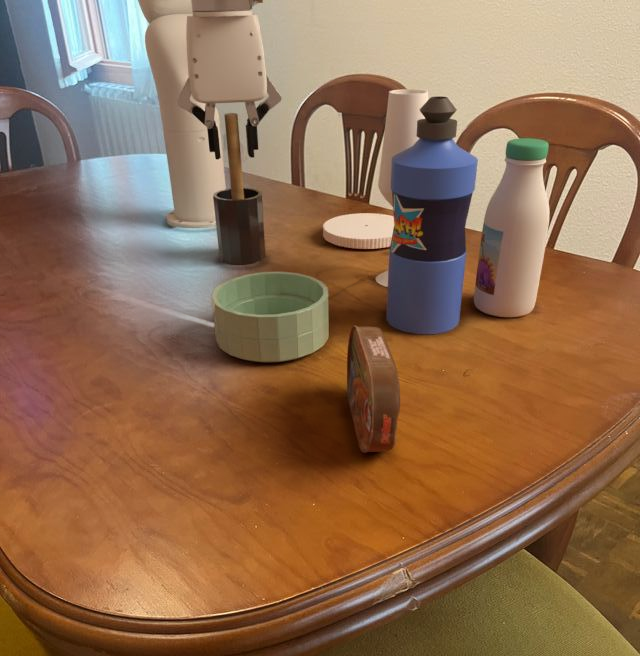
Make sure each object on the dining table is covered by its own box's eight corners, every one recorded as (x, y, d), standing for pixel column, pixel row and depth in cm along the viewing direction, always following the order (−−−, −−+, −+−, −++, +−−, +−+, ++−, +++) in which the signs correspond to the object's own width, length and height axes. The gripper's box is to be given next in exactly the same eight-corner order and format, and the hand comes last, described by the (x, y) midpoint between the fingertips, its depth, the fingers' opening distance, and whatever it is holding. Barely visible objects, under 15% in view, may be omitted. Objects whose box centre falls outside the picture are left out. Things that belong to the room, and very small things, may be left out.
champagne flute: (390, 267, 97) (398, 86, 84) (431, 276, 94) (445, 90, 81) (366, 282, 93) (370, 93, 80) (408, 292, 90) (419, 96, 76)
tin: (344, 385, 69) (344, 310, 64) (374, 383, 69) (376, 309, 64) (364, 472, 56) (366, 388, 52) (400, 470, 57) (406, 386, 52)
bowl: (265, 308, 86) (262, 264, 82) (349, 333, 79) (350, 285, 76) (193, 347, 77) (187, 299, 73) (282, 378, 70) (280, 326, 67)
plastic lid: (305, 240, 109) (305, 225, 107) (366, 222, 116) (366, 208, 115) (364, 261, 100) (365, 245, 98) (426, 241, 107) (427, 225, 106)
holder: (240, 250, 105) (234, 185, 100) (275, 258, 102) (271, 191, 96) (210, 262, 100) (202, 195, 95) (246, 271, 97) (240, 202, 91)
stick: (242, 254, 102) (230, 112, 91) (251, 256, 101) (240, 113, 90) (234, 257, 101) (221, 114, 89) (243, 259, 100) (231, 115, 89)
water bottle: (416, 341, 77) (433, 107, 63) (370, 314, 84) (376, 96, 70) (476, 322, 81) (504, 98, 67) (427, 298, 88) (443, 89, 74)
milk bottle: (536, 298, 87) (565, 136, 76) (531, 322, 81) (562, 149, 70) (477, 292, 89) (497, 133, 78) (468, 314, 83) (489, 146, 72)
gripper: (283, 0, 87) (289, 148, 97) (154, 3, 84) (174, 154, 95) (291, 1, 81) (297, 159, 91) (152, 4, 78) (173, 165, 88)
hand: (234, 155), depth 93 cm, fingers open, 4 cm apart
